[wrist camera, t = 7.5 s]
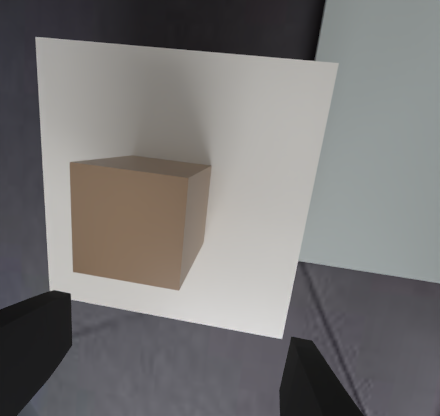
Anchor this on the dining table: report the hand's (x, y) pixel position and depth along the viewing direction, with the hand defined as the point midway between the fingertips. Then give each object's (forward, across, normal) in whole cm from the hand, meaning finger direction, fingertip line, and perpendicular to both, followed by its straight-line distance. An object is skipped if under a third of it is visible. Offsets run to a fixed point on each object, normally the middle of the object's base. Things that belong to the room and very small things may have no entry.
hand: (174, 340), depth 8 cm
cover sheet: (+5, +2, -3) cm, 6 cm away
